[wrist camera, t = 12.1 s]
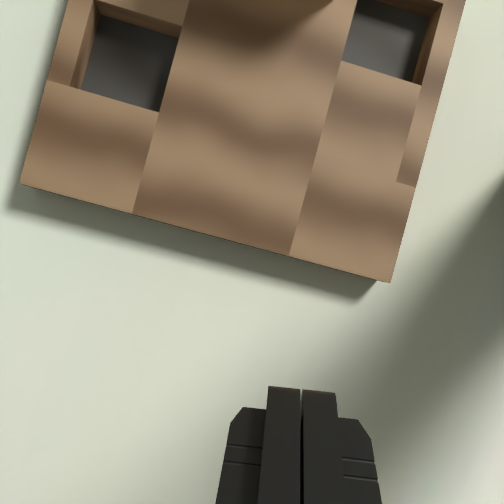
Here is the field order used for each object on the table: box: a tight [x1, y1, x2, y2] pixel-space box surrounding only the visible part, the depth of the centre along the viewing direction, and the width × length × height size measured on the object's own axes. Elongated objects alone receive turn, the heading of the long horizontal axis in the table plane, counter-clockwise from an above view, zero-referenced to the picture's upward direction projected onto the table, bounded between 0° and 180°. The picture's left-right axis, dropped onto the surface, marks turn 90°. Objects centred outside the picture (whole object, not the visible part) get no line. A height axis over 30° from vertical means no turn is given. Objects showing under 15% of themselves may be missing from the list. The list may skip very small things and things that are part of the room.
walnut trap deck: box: [19, 0, 466, 283], centre depth 34 cm, size 27×26×2 cm
